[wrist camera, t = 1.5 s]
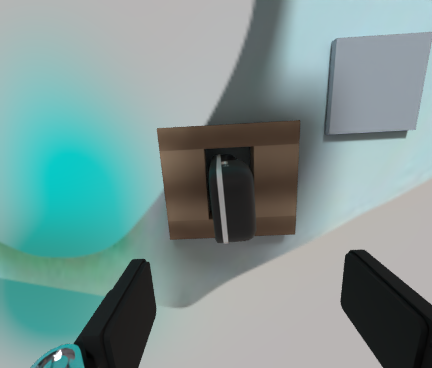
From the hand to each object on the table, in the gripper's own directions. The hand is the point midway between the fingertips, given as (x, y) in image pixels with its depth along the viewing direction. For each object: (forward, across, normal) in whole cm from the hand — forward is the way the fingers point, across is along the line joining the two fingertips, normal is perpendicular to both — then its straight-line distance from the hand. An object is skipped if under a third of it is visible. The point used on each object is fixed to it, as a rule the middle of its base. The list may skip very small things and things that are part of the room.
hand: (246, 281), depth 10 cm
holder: (+19, 0, -1) cm, 19 cm away
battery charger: (+19, 0, -1) cm, 19 cm away
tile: (+18, -17, -11) cm, 27 cm away
